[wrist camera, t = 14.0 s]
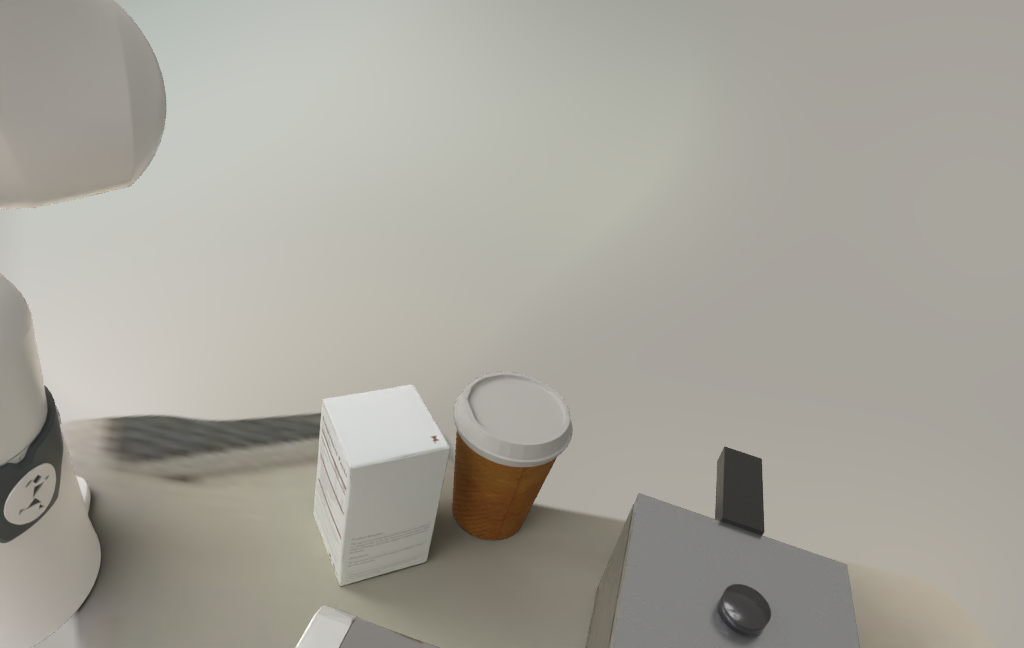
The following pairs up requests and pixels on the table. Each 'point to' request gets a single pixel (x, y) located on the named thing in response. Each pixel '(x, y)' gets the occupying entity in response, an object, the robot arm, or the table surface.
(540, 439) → the disposable coffee cup
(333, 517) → the supplement box
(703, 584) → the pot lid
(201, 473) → the table surface
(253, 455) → the table surface
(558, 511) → the table surface
